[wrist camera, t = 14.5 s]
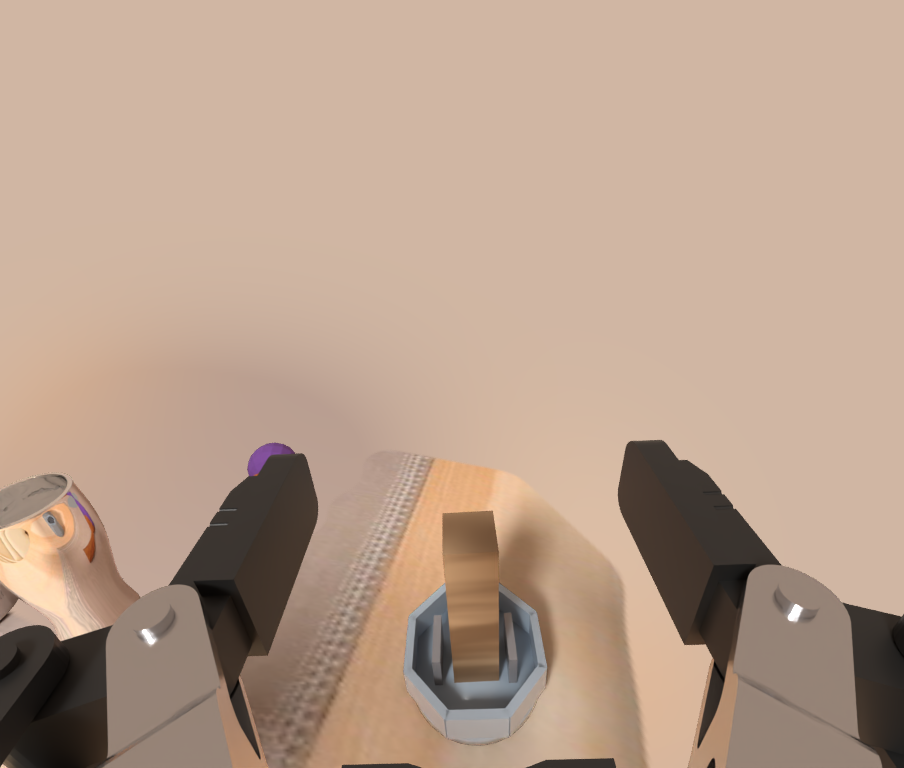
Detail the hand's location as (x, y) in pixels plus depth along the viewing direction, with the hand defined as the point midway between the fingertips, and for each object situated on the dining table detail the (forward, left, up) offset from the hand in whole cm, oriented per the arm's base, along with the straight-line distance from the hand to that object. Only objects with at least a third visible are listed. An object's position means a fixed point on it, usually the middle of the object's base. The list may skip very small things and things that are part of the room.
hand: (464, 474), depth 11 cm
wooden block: (+5, +10, -28) cm, 30 cm away
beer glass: (-24, +29, -29) cm, 48 cm away
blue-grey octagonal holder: (+5, +10, -29) cm, 31 cm away
